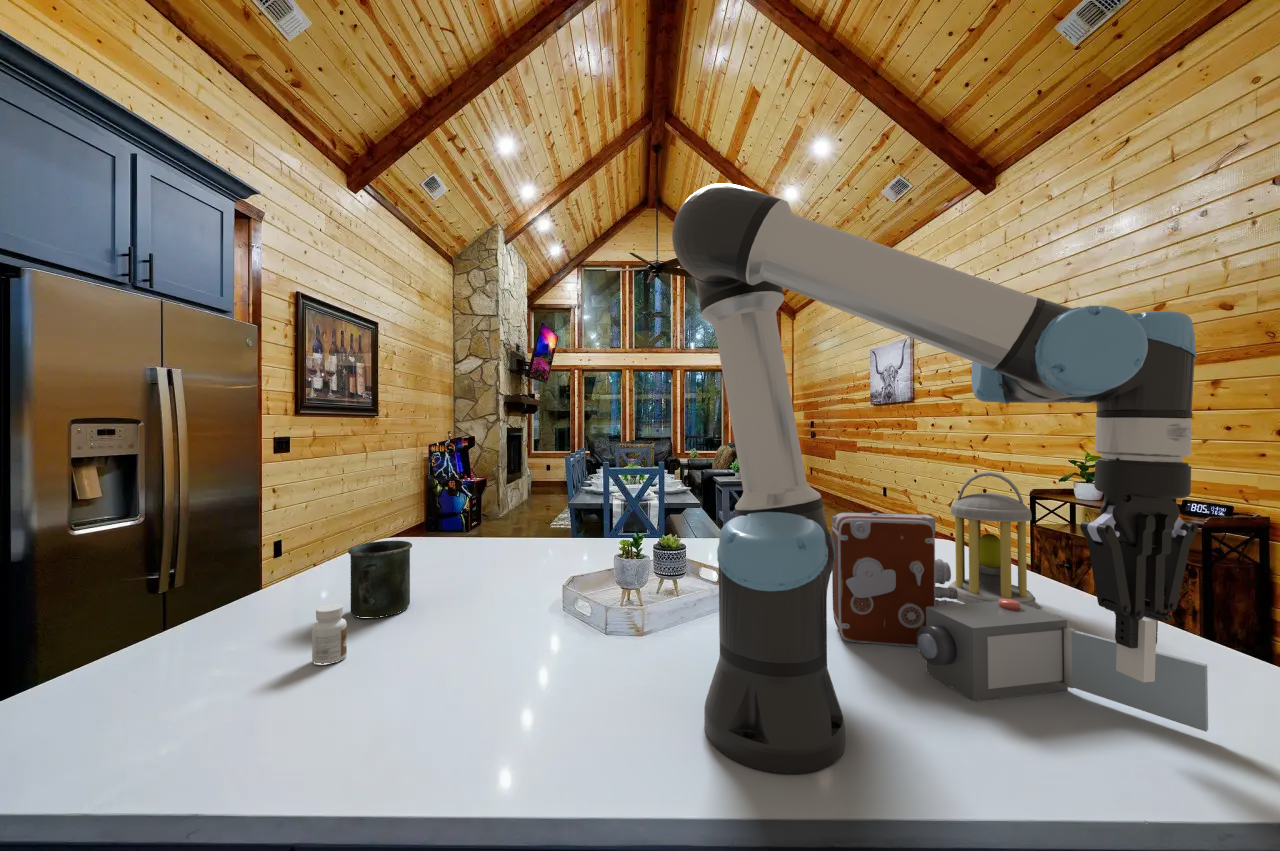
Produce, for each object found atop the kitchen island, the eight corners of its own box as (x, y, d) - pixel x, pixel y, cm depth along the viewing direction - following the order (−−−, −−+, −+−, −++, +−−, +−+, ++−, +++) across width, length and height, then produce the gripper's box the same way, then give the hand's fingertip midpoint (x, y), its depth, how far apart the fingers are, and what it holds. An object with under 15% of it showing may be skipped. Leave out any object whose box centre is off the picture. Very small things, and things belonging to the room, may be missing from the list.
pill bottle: (351, 659, 78) (351, 607, 78) (317, 669, 74) (317, 614, 74) (341, 651, 81) (341, 600, 81) (308, 660, 77) (308, 607, 77)
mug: (419, 599, 105) (418, 539, 105) (397, 625, 91) (397, 556, 91) (361, 602, 104) (361, 541, 104) (329, 629, 89) (329, 559, 89)
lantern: (945, 601, 102) (944, 473, 102) (951, 584, 113) (950, 468, 114) (1037, 616, 94) (1035, 476, 94) (1033, 595, 105) (1032, 471, 106)
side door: (1209, 729, 57) (1208, 662, 57) (1206, 733, 56) (1204, 665, 56) (1067, 682, 67) (1066, 626, 67) (1062, 685, 67) (1062, 628, 67)
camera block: (957, 704, 64) (956, 623, 64) (910, 673, 72) (909, 602, 72) (1069, 690, 67) (1068, 613, 67) (1012, 663, 75) (1011, 594, 75)
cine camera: (978, 656, 78) (977, 520, 78) (839, 645, 81) (838, 517, 82) (954, 632, 87) (953, 511, 87) (830, 624, 90) (829, 508, 91)
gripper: (1131, 460, 52) (1124, 698, 52) (1232, 461, 54) (1225, 688, 54) (1057, 455, 59) (1051, 663, 59) (1149, 456, 62) (1143, 656, 62)
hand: (1135, 675), depth 57 cm, fingers closed
